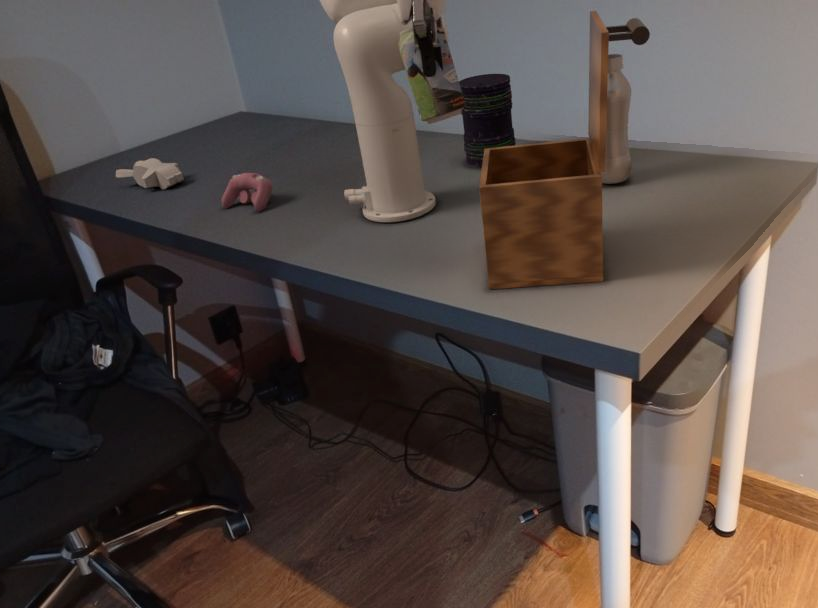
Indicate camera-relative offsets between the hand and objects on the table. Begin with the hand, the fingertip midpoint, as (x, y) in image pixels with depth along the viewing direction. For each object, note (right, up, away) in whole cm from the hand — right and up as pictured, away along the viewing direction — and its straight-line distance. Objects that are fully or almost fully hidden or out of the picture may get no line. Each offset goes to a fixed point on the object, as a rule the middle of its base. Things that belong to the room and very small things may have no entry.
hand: (434, 74), depth 94 cm
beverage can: (+1, -6, +1) cm, 6 cm away
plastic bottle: (+30, -7, +30) cm, 43 cm away
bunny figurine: (-60, 0, +64) cm, 88 cm away
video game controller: (-35, -8, +44) cm, 57 cm away
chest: (+15, -23, +7) cm, 28 cm away
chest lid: (+19, -4, -5) cm, 20 cm away
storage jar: (+11, +1, +48) cm, 49 cm away
